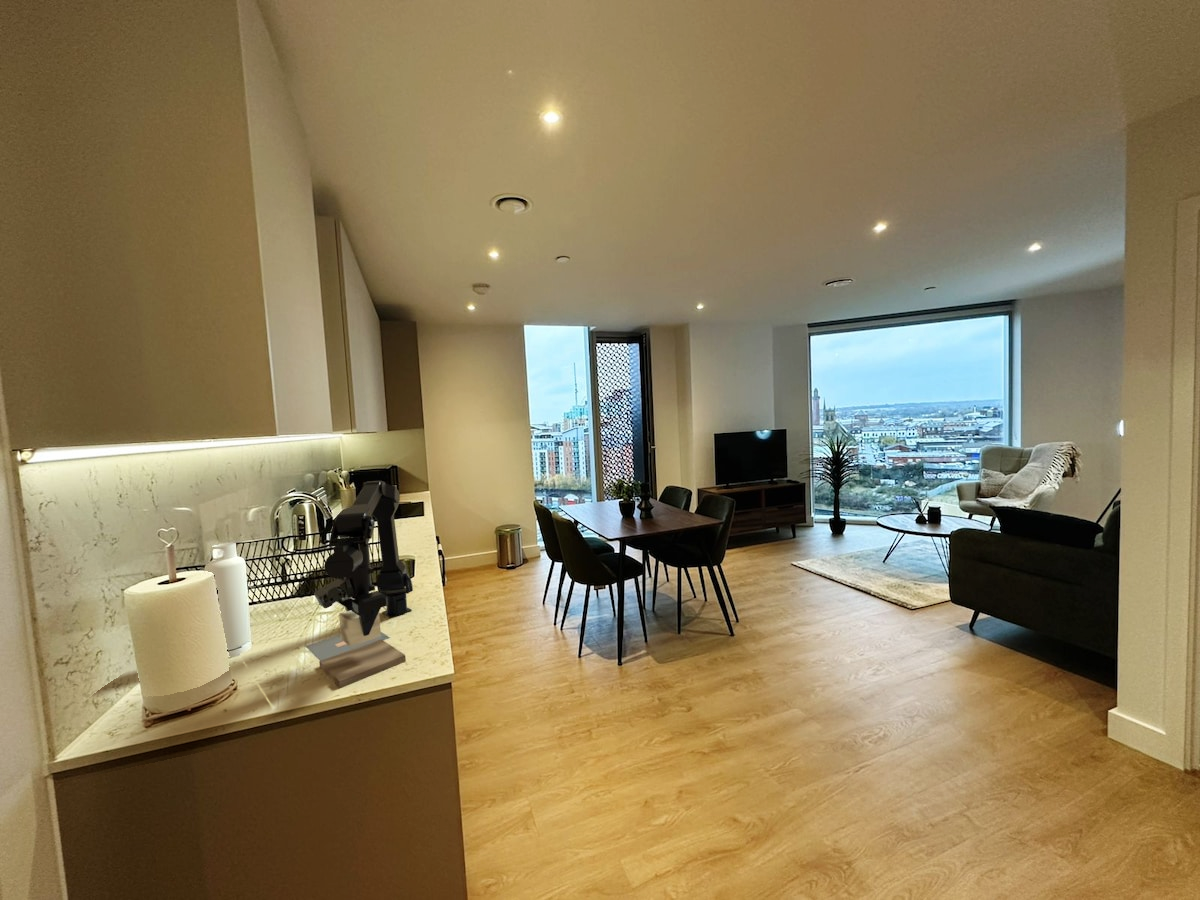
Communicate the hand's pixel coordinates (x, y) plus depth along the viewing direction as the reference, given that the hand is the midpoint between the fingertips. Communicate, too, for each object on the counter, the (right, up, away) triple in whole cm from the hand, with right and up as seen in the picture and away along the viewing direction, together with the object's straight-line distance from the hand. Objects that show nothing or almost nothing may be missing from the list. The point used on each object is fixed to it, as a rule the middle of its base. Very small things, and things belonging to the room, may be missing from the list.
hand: (360, 631), depth 104 cm
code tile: (-10, -8, +12) cm, 18 cm away
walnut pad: (0, -8, 0) cm, 8 cm away
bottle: (-39, -10, +10) cm, 41 cm away
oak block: (0, -1, 0) cm, 1 cm away
